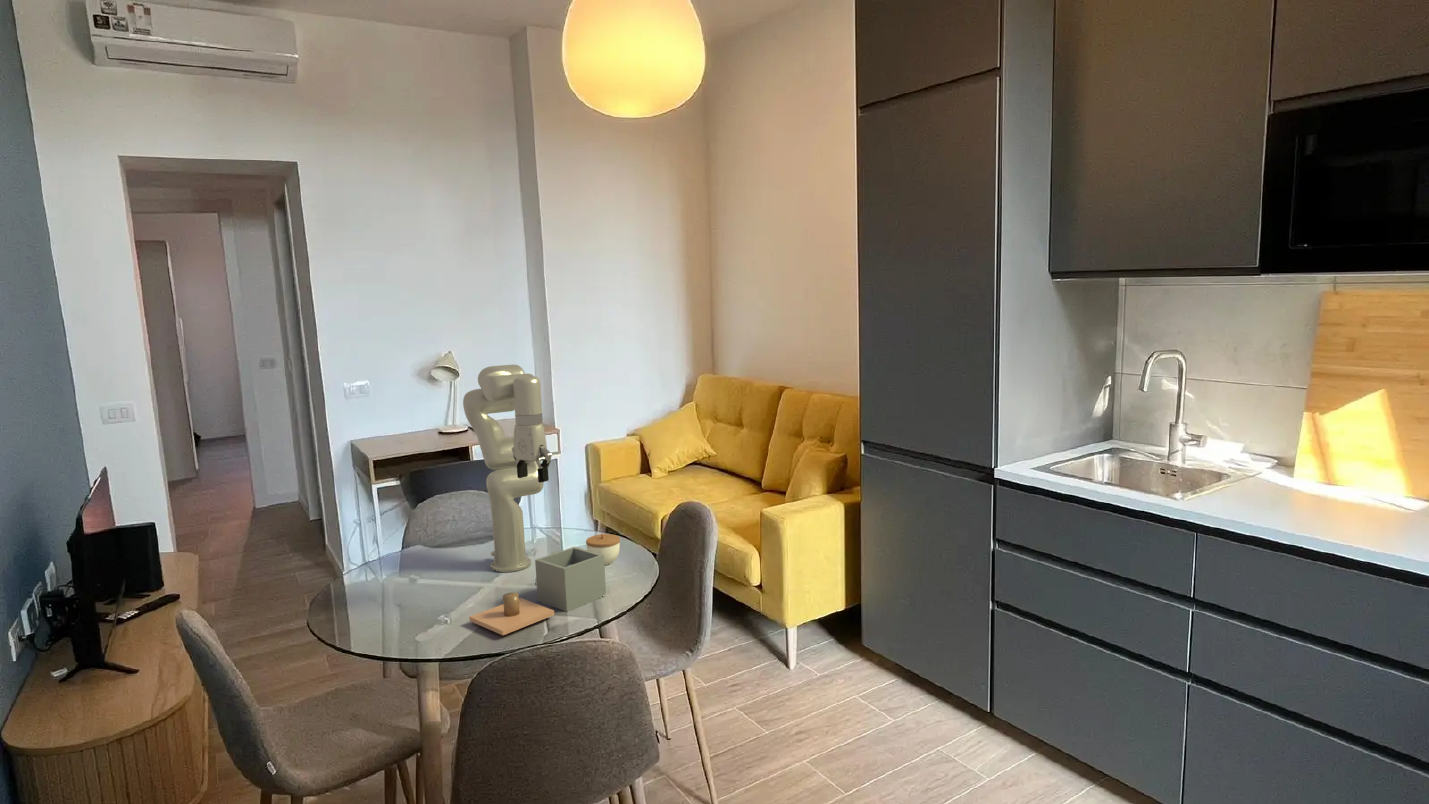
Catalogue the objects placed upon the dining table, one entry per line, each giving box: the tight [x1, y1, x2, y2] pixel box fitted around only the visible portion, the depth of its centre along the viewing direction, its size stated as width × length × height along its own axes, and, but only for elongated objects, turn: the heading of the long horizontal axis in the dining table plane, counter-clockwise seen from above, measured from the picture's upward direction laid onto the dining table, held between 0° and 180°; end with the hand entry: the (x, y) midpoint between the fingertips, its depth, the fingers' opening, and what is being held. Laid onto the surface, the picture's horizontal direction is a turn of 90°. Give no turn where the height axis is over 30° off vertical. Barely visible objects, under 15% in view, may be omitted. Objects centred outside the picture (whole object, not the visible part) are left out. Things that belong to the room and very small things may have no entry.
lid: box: [469, 592, 555, 636], centre depth 210 cm, size 15×16×7 cm
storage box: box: [534, 546, 607, 612], centre depth 224 cm, size 13×14×12 cm
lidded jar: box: [585, 533, 621, 566], centre depth 254 cm, size 11×11×9 cm
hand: (533, 479), depth 227 cm, fingers open, 9 cm apart
